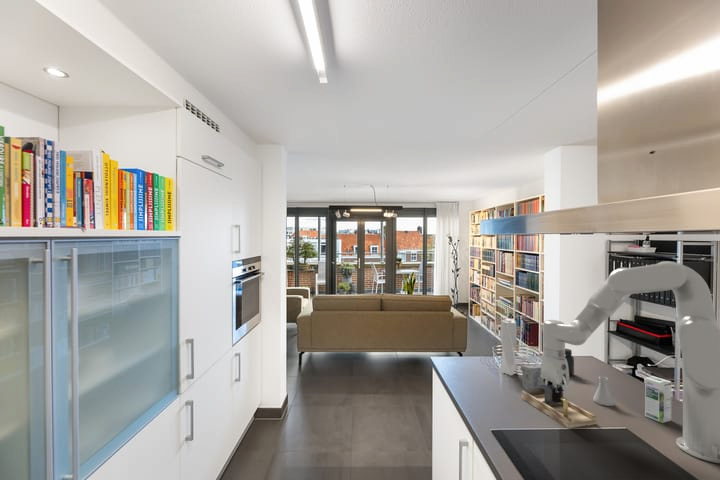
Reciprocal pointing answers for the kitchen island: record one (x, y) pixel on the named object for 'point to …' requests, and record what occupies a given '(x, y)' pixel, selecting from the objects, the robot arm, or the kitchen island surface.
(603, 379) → the flask
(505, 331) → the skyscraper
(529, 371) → the grey stone block
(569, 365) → the supplement bottle
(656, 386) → the syrup box
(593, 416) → the wooden tray
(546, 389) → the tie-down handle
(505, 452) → the kitchen island surface
